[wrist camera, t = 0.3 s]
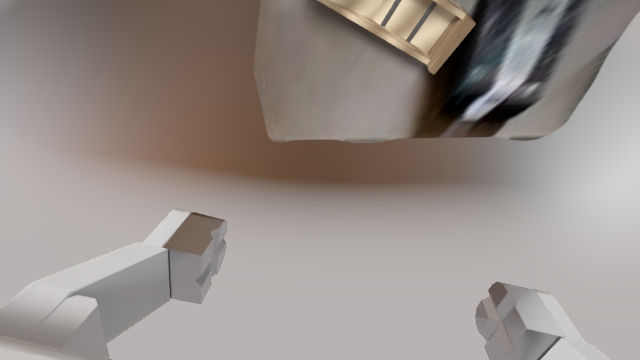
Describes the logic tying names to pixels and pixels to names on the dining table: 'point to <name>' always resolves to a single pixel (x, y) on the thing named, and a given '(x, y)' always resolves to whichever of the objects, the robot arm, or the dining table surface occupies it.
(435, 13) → the lane
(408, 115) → the dining table surface
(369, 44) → the dining table surface
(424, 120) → the dining table surface
